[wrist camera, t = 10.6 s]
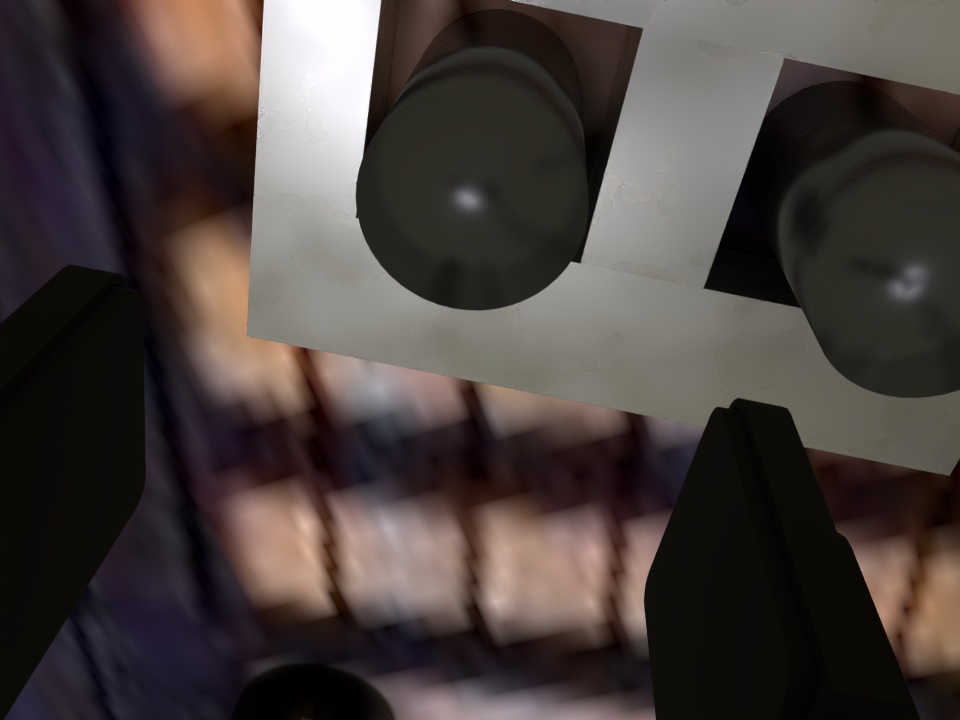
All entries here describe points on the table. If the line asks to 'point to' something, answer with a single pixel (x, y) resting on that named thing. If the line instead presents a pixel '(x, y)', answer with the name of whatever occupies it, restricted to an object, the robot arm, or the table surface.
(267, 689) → the supplement bottle
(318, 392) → the table surface
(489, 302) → the dark grey cylinder
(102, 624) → the table surface
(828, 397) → the jig
